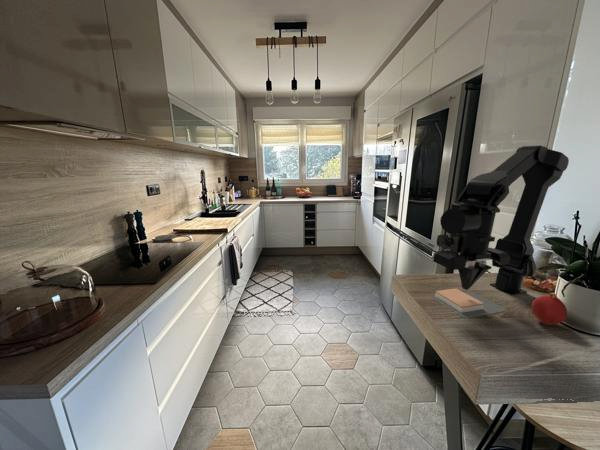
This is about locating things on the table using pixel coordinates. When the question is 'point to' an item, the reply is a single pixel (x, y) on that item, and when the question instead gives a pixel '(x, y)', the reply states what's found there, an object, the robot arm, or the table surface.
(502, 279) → the robot arm
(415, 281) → the table surface
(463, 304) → the tile
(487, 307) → the mat
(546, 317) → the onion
